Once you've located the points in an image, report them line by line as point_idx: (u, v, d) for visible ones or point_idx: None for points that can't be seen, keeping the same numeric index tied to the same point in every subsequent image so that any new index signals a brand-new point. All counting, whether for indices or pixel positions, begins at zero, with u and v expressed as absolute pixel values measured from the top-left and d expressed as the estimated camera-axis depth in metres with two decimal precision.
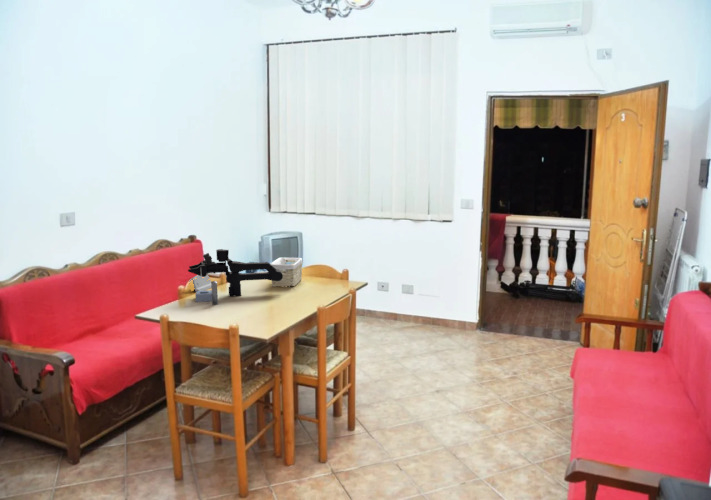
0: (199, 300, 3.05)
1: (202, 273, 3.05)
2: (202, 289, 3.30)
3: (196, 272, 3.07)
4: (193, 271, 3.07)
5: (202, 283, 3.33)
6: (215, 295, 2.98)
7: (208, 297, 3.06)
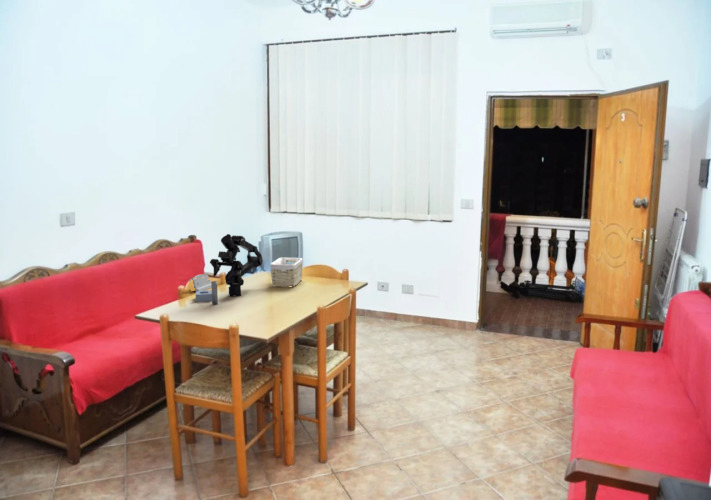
0: (199, 300, 3.05)
1: (241, 267, 3.07)
2: (202, 289, 3.30)
3: (234, 271, 3.06)
4: (232, 273, 3.05)
5: (202, 283, 3.33)
6: (215, 295, 2.98)
7: (208, 297, 3.06)
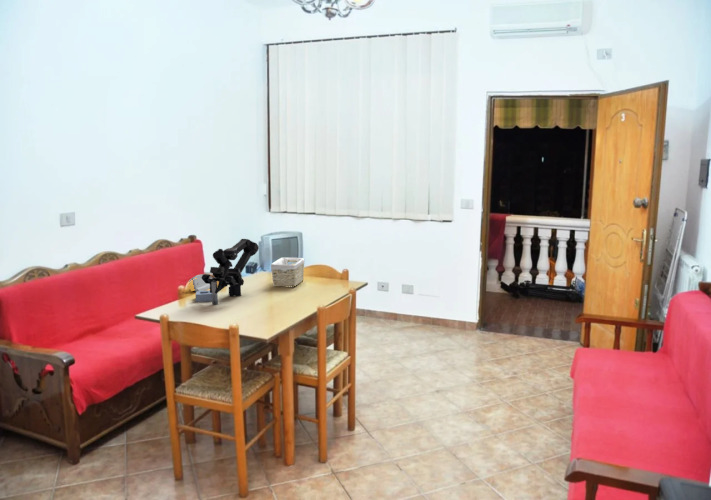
0: (199, 300, 3.05)
1: (234, 282, 3.00)
2: (202, 289, 3.30)
3: (221, 287, 3.00)
4: (219, 289, 2.99)
5: (202, 283, 3.33)
6: (215, 295, 2.98)
7: (208, 297, 3.06)
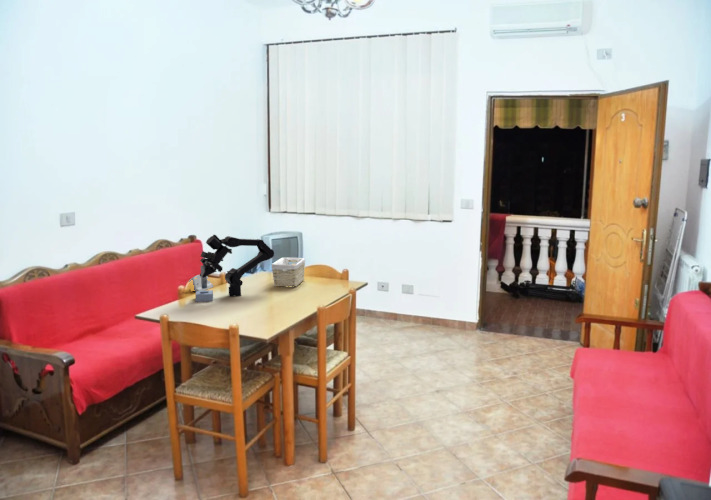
0: (199, 300, 3.05)
1: (218, 269, 3.02)
2: (202, 289, 3.30)
3: (210, 272, 3.06)
4: (207, 273, 3.05)
5: None
6: (203, 279, 3.06)
7: (208, 297, 3.06)
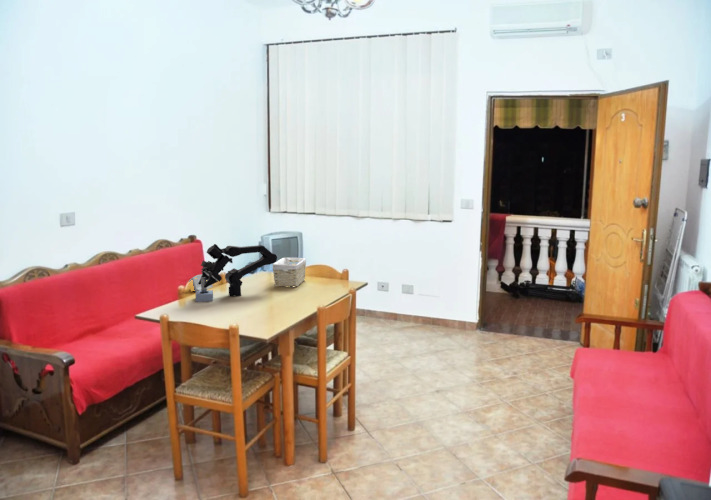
0: (199, 300, 3.05)
1: (218, 278, 3.03)
2: None
3: (211, 282, 3.05)
4: (209, 284, 3.05)
5: None
6: (203, 291, 3.08)
7: (208, 297, 3.06)
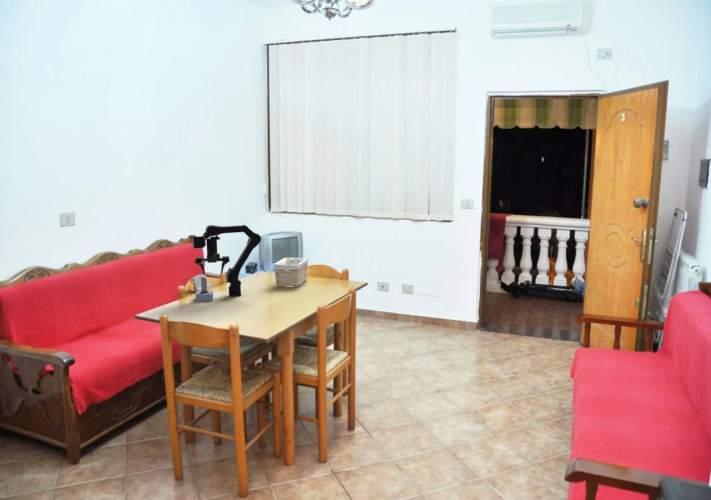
0: (199, 300, 3.05)
1: None
2: None
3: None
4: None
5: None
6: (203, 291, 3.08)
7: (208, 297, 3.06)
